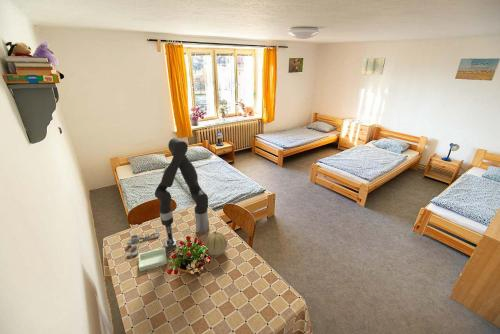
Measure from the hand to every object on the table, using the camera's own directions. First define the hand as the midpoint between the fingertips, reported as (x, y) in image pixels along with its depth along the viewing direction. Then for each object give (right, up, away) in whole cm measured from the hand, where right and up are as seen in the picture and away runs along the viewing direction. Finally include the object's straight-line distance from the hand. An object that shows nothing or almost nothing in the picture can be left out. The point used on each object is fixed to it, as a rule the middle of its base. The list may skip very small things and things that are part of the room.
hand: (170, 236), depth 165 cm
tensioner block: (-1, -7, +3) cm, 8 cm away
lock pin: (0, -3, +2) cm, 4 cm away
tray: (-8, -13, -9) cm, 18 cm away
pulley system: (-23, -6, +5) cm, 24 cm away
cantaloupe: (+32, -10, -1) cm, 33 cm away
